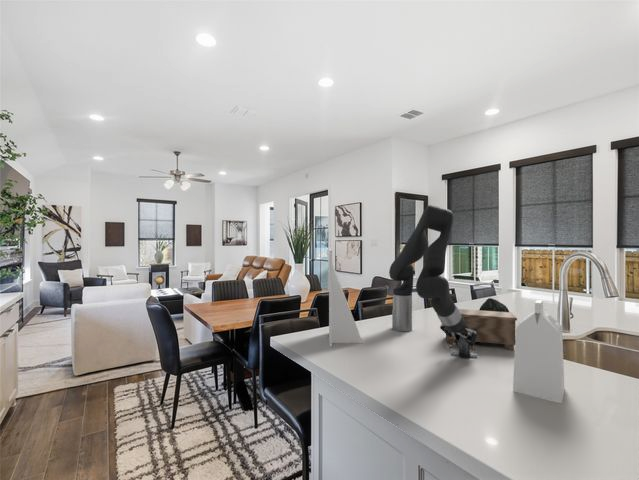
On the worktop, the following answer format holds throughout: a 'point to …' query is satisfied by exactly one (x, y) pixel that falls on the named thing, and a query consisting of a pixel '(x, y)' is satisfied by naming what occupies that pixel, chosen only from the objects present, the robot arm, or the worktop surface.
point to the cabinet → (490, 326)
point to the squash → (493, 306)
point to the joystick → (463, 349)
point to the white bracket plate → (340, 312)
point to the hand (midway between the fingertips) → (466, 343)
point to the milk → (539, 356)
